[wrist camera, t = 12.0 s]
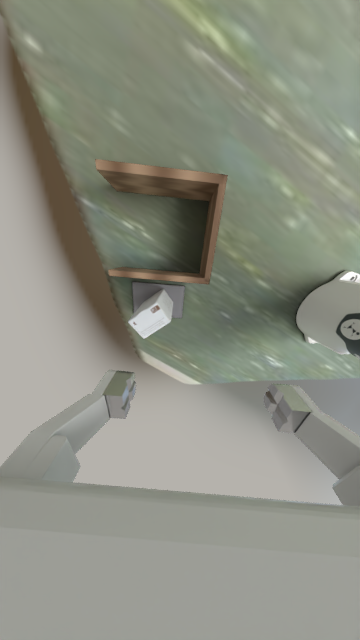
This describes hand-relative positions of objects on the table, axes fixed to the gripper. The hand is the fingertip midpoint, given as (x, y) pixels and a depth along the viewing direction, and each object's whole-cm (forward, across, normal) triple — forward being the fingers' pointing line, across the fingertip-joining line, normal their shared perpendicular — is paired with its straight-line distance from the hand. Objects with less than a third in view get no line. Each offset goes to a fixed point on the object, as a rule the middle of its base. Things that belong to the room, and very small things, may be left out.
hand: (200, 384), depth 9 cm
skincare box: (+26, +7, +4) cm, 27 cm away
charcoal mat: (+26, +7, +4) cm, 28 cm away
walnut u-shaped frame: (+27, +6, -10) cm, 29 cm away
